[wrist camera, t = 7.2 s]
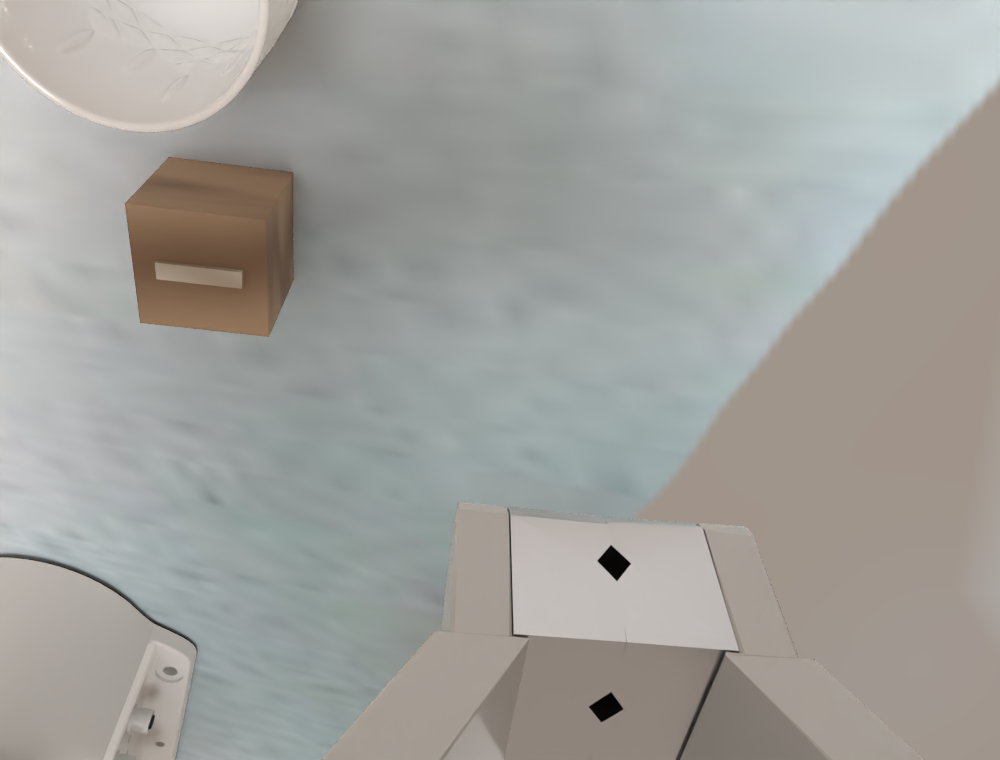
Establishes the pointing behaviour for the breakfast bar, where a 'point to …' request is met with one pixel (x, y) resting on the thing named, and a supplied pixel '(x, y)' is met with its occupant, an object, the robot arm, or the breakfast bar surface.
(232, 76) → the white cup
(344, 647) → the breakfast bar surface
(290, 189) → the walnut block
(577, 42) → the breakfast bar surface
